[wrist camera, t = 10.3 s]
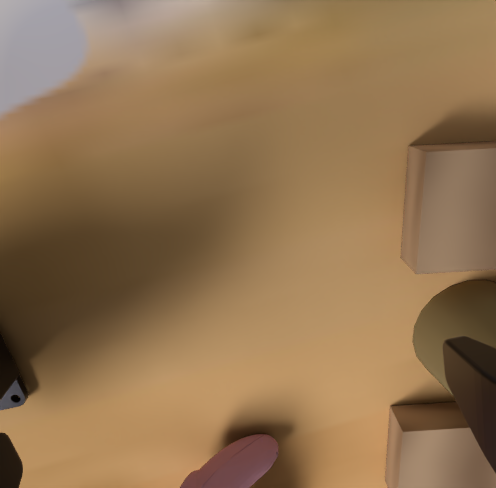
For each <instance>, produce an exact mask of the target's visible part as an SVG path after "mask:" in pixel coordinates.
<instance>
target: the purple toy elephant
mask: <svg viewBox="0 0 496 488" xmlns="http://www.w3.org/2000/svg"><path fill="white" fill-rule="evenodd" d="M277 457H278V444H277V441H276V440H275V439H274V438H273V437H271V436H270V435H266V434H256V435H251V436H247V437H244V438H242V439H240V440H237V441H235V442H233V443H231V444H230V445H228V446H227V447H225V448H224V449H222V450H221V451H220V452H218V453H217V454H216V455H215V456H214V457H212V458H211V459H210V460H209V461H208V462H207V463H206V464H205V465H204V466H203V467H202V468H201V469H200V470H196V471H193V472H192V473H190V474H189V475H188V476H187V478H186V479H185V480H184V482H183V483H182V485H181V487H180V488H249V487H250V486H252V485H253V484H254V483H255V482H256V481H257V480H258V479H260V478H261V477H262V476H263V475H264V474H265V473H266V472H267V471H268V470H269V469H270V468H271V467H272V465H273V463H274V462H275V460H276V458H277Z"/></svg>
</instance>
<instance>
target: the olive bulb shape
mask: <svg viewBox="0 0 496 488" xmlns="http://www.w3.org/2000/svg"><path fill="white" fill-rule="evenodd" d="M459 336H466V337H469V338H472V339H474V340H477V341H479V342H482V343H484V344H487V345H489V346H492V347H494V348H496V282H492V281H488V280H473V281H465V282H462V283H459V284H456V285H453V286H450V287H448V288H447V289H445V290H444V291H442V292H441V293H439V294H438V295H436V296H435V297H433V298H432V300H431V301H430V302H429V303H428V304H427V305H426V306H425V307H424V309H423V310H422V311H421V313H420V315H419V317H418V319H417V322H416V324H415V326H414V334H413V345H414V349H415V352H416V356H417V357H418V359H419V360H420V361H421V363H422V364H423V365H424V367H425V368H426V369H427V370H428V371H429V372H430V373H431V374H432V375H433V376H434V377H435V378H436V379H437V380H438V381H439V382H440V383H441V384H442V385H443V386H444V387H445V388H446V389H447V390H448V391H449V392H450V393H451V394H452V392H451V390H450V389H449V386H448V384H447V381H446V378H445V371H444V360H443V349H442V345H443V342H444V340H446V339H450V338H454V337H459ZM452 395H453V394H452Z"/></svg>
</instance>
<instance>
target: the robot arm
mask: <svg viewBox="0 0 496 488" xmlns="http://www.w3.org/2000/svg"><path fill="white" fill-rule="evenodd" d="M442 349H443V360H444V371H445V378H446V381H447V384H448V386H449V389H450V390H451V392H452V394H453V396H454V398H455V400H456V402H457V404H458V406H459V408H460V410H461V412H462V414H463V416H464V418H465V420H466V421H467V423H468V425H469V427H470V429H471V431H472V433H473V435H474V437H475V439H476V441H477V443H478V445H479V447H480V448H481V450H482V452H483V454H484V456H485V458H486V459H487V461H488V462H489V464H490V466H491V467H492V469H493V470H494V472H495V473H496V348H494V347H492V346H489V345H487V344H484V343H482V342H479V341H477V340H474V339H472V338H469V337H466V336H459V337H454V338H450V339H446V340H444V342H443V345H442ZM15 395H18V396H19V397H20V398H18V397H16V396H15ZM28 395H29V394H28V391H27V389H26V387H25V385H24V383H23V381H22V379H21V377H20V374H19V370H18V368H17V366H16V364H15V362H14V360H13V358H12V356H11V354H10V352H9V350H8V348H7V346H6V344H5V341H4V339H3V337H2V335H1V334H0V410H4V409H9V408H13V407H18V406H21V405H23V404H24V403H25V401H26V400H27V398H28ZM22 473H23V465H22V461H21V459H20V457H19V455H18V453H17V451H16V450H15V448H14V446H13V444H12V442H11V440H10V438H9V437H8V435H6V434H5V433H0V488H19V485H20V481H21V478H22Z"/></svg>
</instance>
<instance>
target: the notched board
mask: <svg viewBox="0 0 496 488" xmlns="http://www.w3.org/2000/svg"><path fill="white" fill-rule="evenodd" d="M401 259H402V260H403V261H404V262H405V263H406V264H407V265H408V266H409V267H410V268H411V269H412V270H413V271H414V273H415V274H428V273H445V272H462V271H479V270H496V141H486V142H468V143H450V144H432V145H414V146H408V160H407V174H406V188H405V202H404V217H403V231H402V245H401ZM385 481H386V484H387V487H388V488H496V473H495V472H494V470H493V469H492V467H491V466H490V464H489V462H488V461H487V459H486V458H485V456H484V454H483V452H482V450H481V448H480V447H479V445H478V443H477V441H476V439H475V437H474V435H473V433H472V431H471V429H470V427H469V425H468V423H467V421H466V420H465V418H464V416H463V414H462V412H461V410H460V408H459V406H458V404H457V402H446V403H430V404H414V405H398V406H390V415H389V430H388V444H387V458H386V472H385Z"/></svg>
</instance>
